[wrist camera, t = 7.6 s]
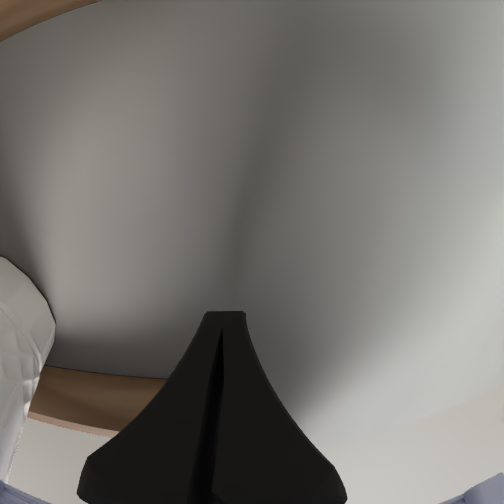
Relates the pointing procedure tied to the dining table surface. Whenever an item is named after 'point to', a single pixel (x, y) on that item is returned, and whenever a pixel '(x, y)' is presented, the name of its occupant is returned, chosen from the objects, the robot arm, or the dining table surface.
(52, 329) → the white cup
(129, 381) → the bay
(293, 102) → the dining table surface
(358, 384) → the dining table surface
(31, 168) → the dining table surface
